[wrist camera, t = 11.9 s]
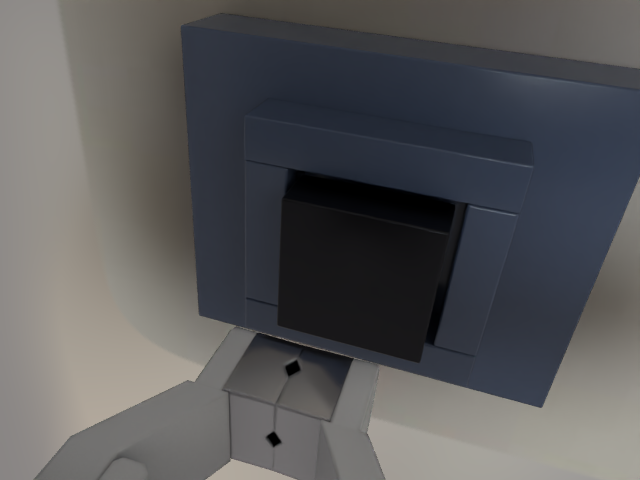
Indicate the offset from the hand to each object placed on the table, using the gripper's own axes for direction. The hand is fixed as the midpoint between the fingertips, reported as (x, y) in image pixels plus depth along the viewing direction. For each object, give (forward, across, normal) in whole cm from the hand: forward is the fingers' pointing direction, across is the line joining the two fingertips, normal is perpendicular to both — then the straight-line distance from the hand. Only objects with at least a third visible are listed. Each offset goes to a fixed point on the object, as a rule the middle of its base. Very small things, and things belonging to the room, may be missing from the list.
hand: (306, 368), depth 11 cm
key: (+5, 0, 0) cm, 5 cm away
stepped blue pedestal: (+8, 0, 0) cm, 8 cm away
